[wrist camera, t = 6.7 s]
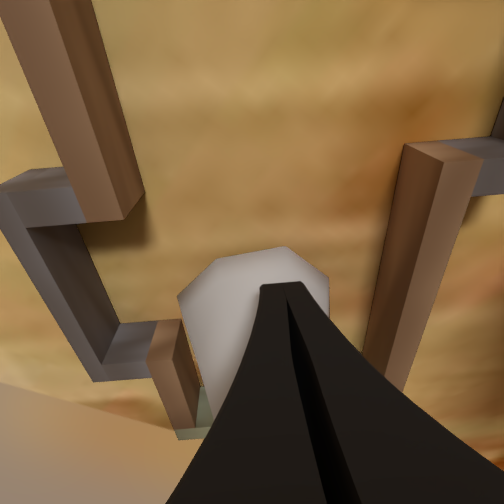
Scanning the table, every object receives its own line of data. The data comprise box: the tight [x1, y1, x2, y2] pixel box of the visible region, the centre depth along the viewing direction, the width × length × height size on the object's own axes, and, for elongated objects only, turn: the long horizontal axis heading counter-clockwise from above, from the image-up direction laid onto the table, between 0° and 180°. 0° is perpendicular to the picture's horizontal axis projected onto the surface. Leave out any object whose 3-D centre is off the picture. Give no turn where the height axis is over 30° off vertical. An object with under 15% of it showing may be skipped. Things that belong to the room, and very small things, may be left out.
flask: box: [177, 246, 330, 420], centre depth 11 cm, size 7×7×10 cm
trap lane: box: [0, 0, 504, 440], centre depth 11 cm, size 18×26×2 cm
